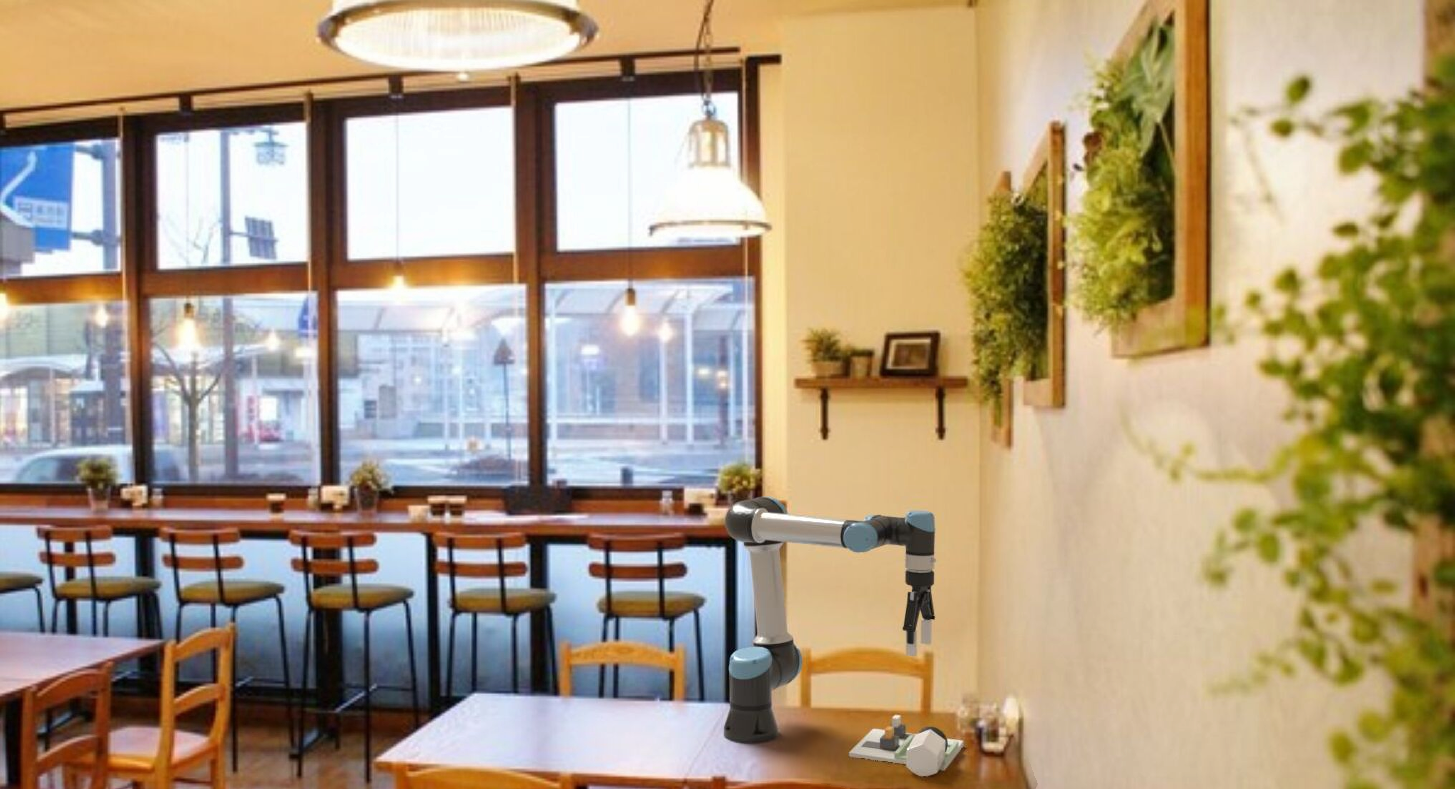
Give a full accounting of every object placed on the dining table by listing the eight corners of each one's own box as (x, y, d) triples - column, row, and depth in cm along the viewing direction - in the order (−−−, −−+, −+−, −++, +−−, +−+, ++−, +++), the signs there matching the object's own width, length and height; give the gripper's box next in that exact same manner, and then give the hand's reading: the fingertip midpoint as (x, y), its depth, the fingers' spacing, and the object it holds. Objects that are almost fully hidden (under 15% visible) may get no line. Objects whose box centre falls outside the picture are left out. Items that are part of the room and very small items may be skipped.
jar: (938, 747, 262) (948, 727, 273) (906, 741, 265) (917, 721, 276) (937, 781, 264) (947, 760, 274) (905, 775, 267) (916, 754, 278)
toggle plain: (887, 735, 292) (887, 717, 292) (891, 731, 295) (891, 713, 295) (901, 737, 290) (901, 719, 290) (905, 733, 294) (905, 715, 294)
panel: (849, 758, 280) (848, 746, 280) (873, 733, 299) (873, 722, 299) (944, 772, 269) (944, 760, 269) (963, 746, 288) (963, 735, 288)
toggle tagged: (880, 747, 282) (879, 729, 282) (884, 743, 286) (884, 724, 286) (894, 749, 281) (894, 731, 280) (899, 745, 284) (899, 726, 284)
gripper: (920, 579, 272) (919, 662, 272) (946, 563, 294) (945, 640, 294) (891, 576, 275) (890, 658, 275) (919, 561, 297) (918, 637, 298)
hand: (918, 649), depth 285 cm, fingers open, 13 cm apart
